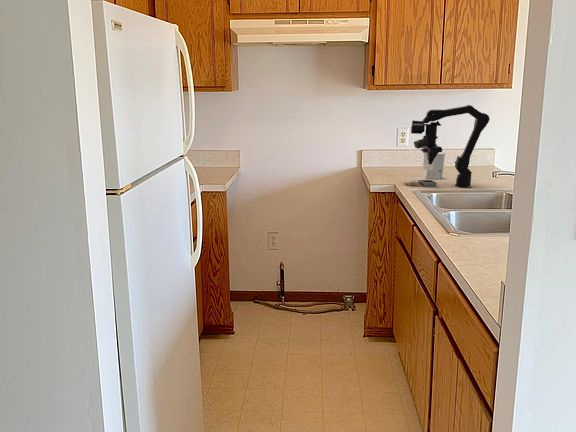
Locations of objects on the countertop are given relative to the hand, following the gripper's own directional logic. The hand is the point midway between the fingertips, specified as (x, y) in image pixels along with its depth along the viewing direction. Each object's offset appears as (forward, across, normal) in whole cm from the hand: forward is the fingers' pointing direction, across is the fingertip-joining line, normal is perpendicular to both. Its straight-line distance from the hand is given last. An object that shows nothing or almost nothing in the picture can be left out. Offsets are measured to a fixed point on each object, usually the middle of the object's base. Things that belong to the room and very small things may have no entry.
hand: (428, 163), depth 297 cm
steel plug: (+3, 0, 0) cm, 3 cm away
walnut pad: (+11, 0, -8) cm, 14 cm away
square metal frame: (+11, 0, 0) cm, 11 cm away
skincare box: (+12, -18, +12) cm, 25 cm away
